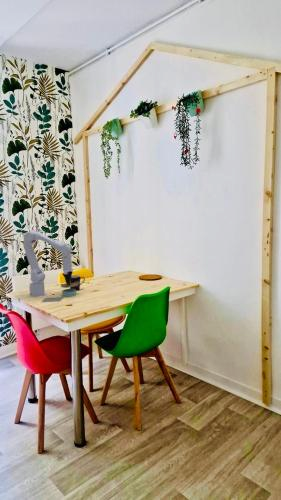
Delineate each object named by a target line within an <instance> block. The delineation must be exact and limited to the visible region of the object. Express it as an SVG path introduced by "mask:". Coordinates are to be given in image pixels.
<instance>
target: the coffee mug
mask: <svg viewBox="0 0 281 500" xmlns="http://www.w3.org/2000/svg"><path fill="white" fill-rule="evenodd" d="M82 278H83V280H82V282H81V279H82ZM84 282H85V277H84V276H81V275H78V274H77V275H75V274H74V275H73V274H72V276H71V283H76V286H74V287H69V289H76V292H79V291H80V287H81V285H83V284H84Z"/></svg>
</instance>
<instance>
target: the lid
mask: <svg viewBox="0 0 281 500" xmlns="http://www.w3.org/2000/svg"><path fill="white" fill-rule="evenodd" d="M74 286H76V283H71V281H70V283H68V284H66V283H62V284H61V285H60V287H61V288H66V289H70V287H74Z"/></svg>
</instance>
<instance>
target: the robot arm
mask: <svg viewBox="0 0 281 500" xmlns="http://www.w3.org/2000/svg"><path fill="white" fill-rule="evenodd" d="M22 237H23V244H22V245H23V249H24V251H25V255H26V259H27V261H28V264H29V267H30V281H31V282H30V283H29V297H30V298H34V297H37V298H39V297H45V296H46V295H47V292H45V290H46V289H45V279H46V274H45V272H44V271H43V270H42V269H41V268H40V266H39V262H38V259H37V256H36V253H35V249H34V246H33V245H34V243H35V242H36V241H38V240H40V241H42V242H45V243H47V244H49V245H50V246H51V248H52V249H53V248H54V249H55V250H57V251H59V252H60V253H61V257H62V260H61V261H62V272H63V273H62V276H63V278H64V280H65V284H68V283H70V281H71V276H73V271H74V270H75V269H74V268H73V267H72V266H73V265H72V249H73V248H72V246H71V245H70V244H69V243H67V244H66V243H65V242H62V241H61V240H60V239H58V238H57V239H56V238H55V239H53V238H50V237H49V236H47V235H45V234H43V233H42V232H40V231H37V230H33V231H26V232H25V233H24V234H23V236H22Z"/></svg>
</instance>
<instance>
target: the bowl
mask: <svg viewBox="0 0 281 500" xmlns="http://www.w3.org/2000/svg"><path fill="white" fill-rule="evenodd" d="M76 295H77V291H76V289H70V288H66V289H62V290H61V297H63V298H69V297H75V296H76Z"/></svg>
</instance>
